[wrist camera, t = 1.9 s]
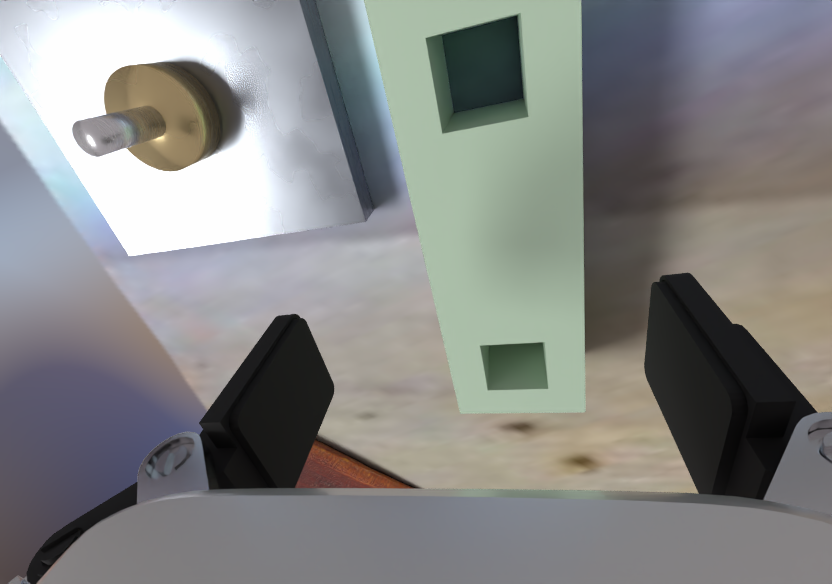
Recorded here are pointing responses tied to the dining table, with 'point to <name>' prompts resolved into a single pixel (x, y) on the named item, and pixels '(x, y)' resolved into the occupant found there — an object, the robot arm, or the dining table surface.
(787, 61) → the dining table surface
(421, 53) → the slotted bar
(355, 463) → the wooden tablet
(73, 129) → the base plate
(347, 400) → the dining table surface
